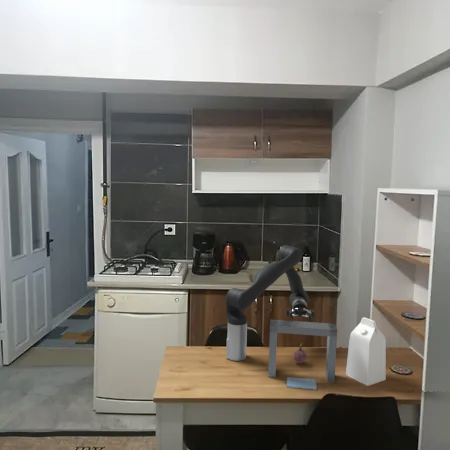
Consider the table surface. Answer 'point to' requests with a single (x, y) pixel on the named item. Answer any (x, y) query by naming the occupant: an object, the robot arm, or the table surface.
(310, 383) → the pad
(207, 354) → the table surface
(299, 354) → the vegetable
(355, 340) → the milk
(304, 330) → the grey arch
